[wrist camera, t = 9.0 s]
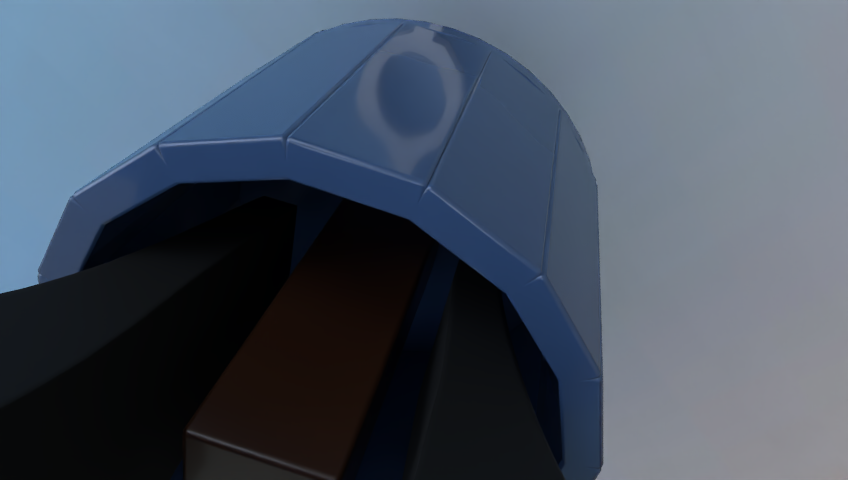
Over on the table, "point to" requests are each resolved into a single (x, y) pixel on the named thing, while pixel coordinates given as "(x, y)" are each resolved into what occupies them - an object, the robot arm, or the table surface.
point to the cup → (394, 201)
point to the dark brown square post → (316, 357)
